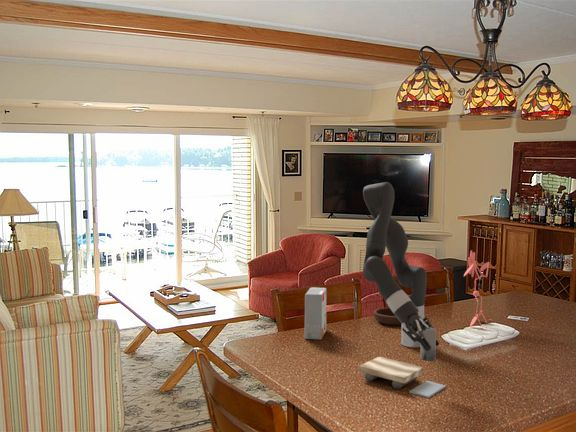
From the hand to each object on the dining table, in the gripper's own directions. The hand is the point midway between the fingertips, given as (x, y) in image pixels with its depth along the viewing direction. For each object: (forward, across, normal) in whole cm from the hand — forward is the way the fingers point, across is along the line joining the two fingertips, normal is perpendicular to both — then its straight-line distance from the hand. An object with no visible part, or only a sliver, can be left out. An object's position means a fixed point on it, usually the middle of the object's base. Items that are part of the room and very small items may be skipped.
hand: (433, 347), depth 194 cm
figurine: (-7, +85, +28) cm, 90 cm away
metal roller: (+2, 0, +4) cm, 5 cm away
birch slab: (0, 0, +22) cm, 22 cm away
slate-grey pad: (+9, 0, +12) cm, 15 cm away
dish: (-28, +65, +50) cm, 87 cm away
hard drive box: (-39, +25, +61) cm, 76 cm away
